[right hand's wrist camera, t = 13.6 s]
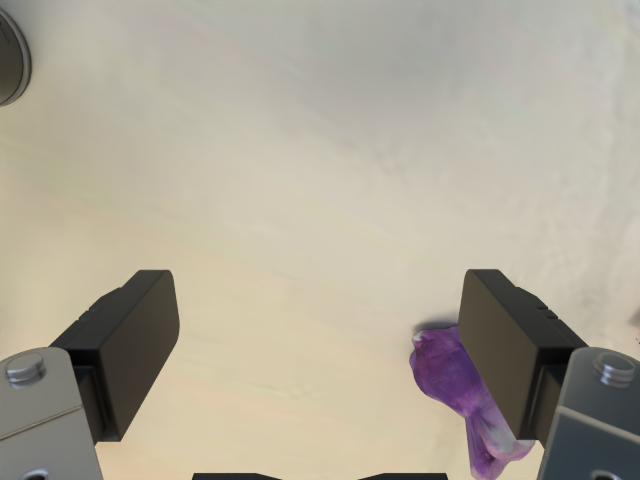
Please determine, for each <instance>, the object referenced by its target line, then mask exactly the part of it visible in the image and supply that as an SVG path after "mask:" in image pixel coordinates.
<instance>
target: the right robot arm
mask: <svg viewBox="0 0 640 480" xmlns="http://www.w3.org/2000/svg"><path fill="white" fill-rule="evenodd" d="M29 75H30V58H29V52H28V49H27V46H26V43H25V40H24V38H23V36H22V34H21V32H20V30H19V29H18V27H17V26H16V24H15V23H14V22H13V20H12V19H11V18H10V17H9V16H8V15H7V14H6V13H5V12H4V11H3V10H2V9H1V8H0V107H1V106H5V105H7V104H10V103H11V102H13V101H14V100H16V99H17V98H18V97H19V96H20V95H21V94H22V92H23V91H24V89H25V87H26V85H27V83H28V80H29ZM179 328H180V322H179V314H178V307H177V300H176V293H175V287H174V280H173V276H172V273H171V272H170V271H169V270H139V271H138V272H137V273H136V274H135V275H134V276H133V277H132V278H131V279H130V280H129V281H128V282H127V283H126V284H125V285H124V286H123V287H121V288H117V289H115V290H113V291H111V292H109V293H107V294H106V295H104V296H102V297H100V298H99V299H98V300H97V301H96V302H95V303H94V304H93V305H92V306H91V307H90V308H89V311H85V312H84V313H83V314H82V315H81V316H80V317H79V320H76V321H75V322H74V323H73V324H72V325H71V326H70V327H69V328H67V329H66V330H65V331H64V332H63V333H62V334H61V335H60V336H59V337H58V338H57V339H56V340H55V341H54V342H53V343H52V344H51V345H49V346H48V347H42V348H35V349H31V350H27V351H23V352H21V353H18V354H15V355H13V356H10V357H8V358H6V359H4V360H2V361H1V362H0V480H103V476H102V472H101V469H100V465H99V461H98V458H97V454H96V450H95V445H96V443H97V442H120V441H121V440H122V438H123V436H124V434H125V433H126V431H127V429H128V427H129V426H130V424H131V422H132V420H133V419H134V417H135V415H136V413H137V412H138V410H139V408H140V406H141V404H142V403H143V401H144V399H145V397H146V396H147V394H148V392H149V390H150V389H151V387H152V385H153V383H154V382H155V380H156V378H157V376H158V375H159V373H160V371H161V369H162V367H163V366H164V364H165V362H166V360H167V359H168V357H169V355H170V353H171V352H172V350H173V348H174V346H175V345H176V342H177V340H178V336H179ZM458 329H459V336H460V339H461V342H462V344H463V346H464V348H465V349H466V351H467V353H468V355H469V357H470V358H471V360H472V362H473V364H474V366H475V367H476V369H477V371H478V373H479V374H480V376H481V378H482V380H483V382H484V383H485V385H486V387H487V389H488V391H489V392H490V394H491V396H492V398H493V399H494V401H495V403H496V405H497V407H498V408H499V410H500V412H501V414H502V415H503V417H504V419H505V421H506V423H507V424H508V426H509V428H510V430H511V432H512V433H513V435H514V437H515V439H516V440H539V441H540V443H541V444H542V446H543V448H544V449H545V450H544V454H543V458H542V461H541V465H540V469H539V472H538V476H537V480H640V362H639V361H638V360H636V359H634V358H632V357H630V356H627V355H625V354H622V353H619V352H617V351H613V350H609V349H605V348H598V347H589V346H588V345H587V344H586V343H585V342H584V341H583V340H582V339H581V338H580V337H579V336H578V335H577V334H575V333H574V332H573V331H572V330H571V329H570V328H569V327H568V326H567V325H566V324H565V323H564V322H563V321H562V320H561V319H558V316H557V315H556V314H555V313H553V312H552V311H551V310H548V307H547V306H546V305H545V304H544V303H543V302H542V301H541V300H540V299H539V298H538V297H537V296H535V295H533V294H531V293H529V292H527V291H526V290H524V289H522V288H520V287H515V286H514V285H513V284H512V283H511V282H510V281H509V280H508V279H507V277H506V276H505V275H504V274H503V273H502V272H501V271H499V270H498V269H469V270H468V271H467V272H466V274H465V278H464V284H463V291H462V299H461V306H460V313H459V320H458ZM192 480H281V479H277V478H273V477H269V476H265V475H261V474H257V473H194V475H193V478H192ZM359 480H448V478H447V475H446V473H383V474H379V475H375V476H371V477H367V478H363V479H359Z"/></svg>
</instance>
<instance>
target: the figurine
mask: <svg viewBox="0 0 640 480" xmlns="http://www.w3.org/2000/svg"><path fill="white" fill-rule="evenodd" d="M412 342H413V345H414V347H415V351H414V353H413V354H412V356H411V357H410V366H411V368H412V371H413V374H414V378H415V381H416V383H417V385H418V387H419V388H420V390H421V391H422V392H423V393H424V394H425V395H427V396H429V397H431V398H433V399H435V400H437V401H440V402H442V403H444V404H445V405H447V406H449V407H450V408H452V409H453V410H454V411H455V412H457V413H458V414H459V415H461V416H462V417H463V418H465V422H466V432H467V441H468V450H469V460H470V469H471V475H472V476H473V477H474V478H475V479H476V480H495V479H496V478H497V477H498V476H499V475H500V474H501V473H502V471H503V470H504V468H505V466H506V465H507V464H508V463H509V462H511V461H517V460H521V459H522V458H523V457H525V456H526V455H527V454H528V453H529V452H530V450H531V449H532V447H533V446H534V444H535V440H516V439H515V437H514V435H513V433H512V432H511V430H510V428H509V426H508V424H507V423H506V421H505V419H504V417H503V415H502V414H501V412H500V410H499V408H498V407H497V405H496V403H495V401H494V399H493V398H492V396H491V394H490V392H489V391H488V389H487V387H486V385H485V383H484V382H483V380H482V378H481V376H480V374H479V373H478V371H477V369H476V367H475V366H474V364H473V362H472V360H471V358H470V357H469V355H468V353H467V351H466V349H465V348H464V346H463V344H462V342H461V339H460V336H459V329H458V326H453V327H450V328H444V329H431V330H422V331H420V332H418V333H416V334H415V335H414V336H413V337H412Z"/></svg>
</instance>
